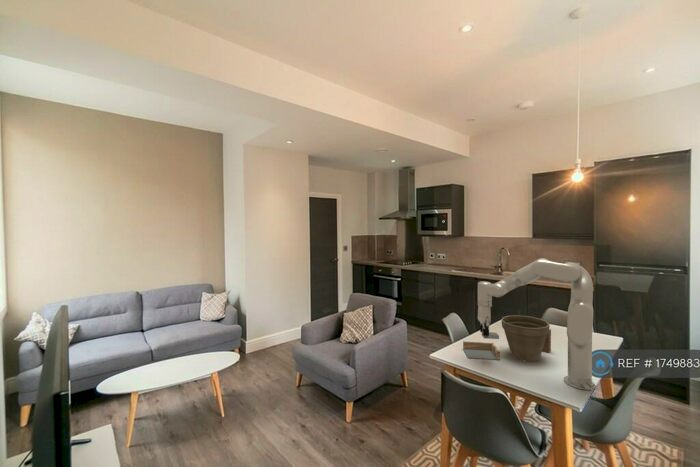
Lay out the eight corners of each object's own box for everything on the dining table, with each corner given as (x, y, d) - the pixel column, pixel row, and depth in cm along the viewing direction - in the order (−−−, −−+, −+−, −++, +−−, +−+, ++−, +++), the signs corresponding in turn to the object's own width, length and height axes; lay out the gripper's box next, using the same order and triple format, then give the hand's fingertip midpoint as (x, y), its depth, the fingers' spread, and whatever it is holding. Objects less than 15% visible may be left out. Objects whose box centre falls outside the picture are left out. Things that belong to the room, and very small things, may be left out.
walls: (500, 360, 177) (500, 351, 177) (467, 358, 180) (467, 350, 180) (493, 350, 191) (493, 342, 191) (463, 349, 194) (463, 341, 194)
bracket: (484, 338, 175) (484, 324, 175) (481, 335, 180) (481, 321, 180) (498, 339, 174) (499, 325, 173) (496, 336, 179) (496, 322, 178)
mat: (500, 360, 177) (500, 359, 177) (467, 358, 180) (467, 357, 180) (493, 350, 191) (493, 349, 191) (463, 349, 194) (463, 348, 194)
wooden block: (548, 353, 187) (548, 324, 186) (530, 347, 195) (530, 319, 195) (551, 351, 189) (551, 323, 188) (532, 346, 198) (532, 318, 197)
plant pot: (510, 364, 171) (510, 326, 171) (495, 347, 196) (495, 314, 195) (558, 367, 168) (558, 328, 167) (537, 349, 192) (537, 315, 192)
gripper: (474, 299, 186) (474, 328, 186) (481, 306, 169) (481, 338, 169) (487, 299, 185) (487, 329, 185) (496, 307, 168) (496, 339, 168)
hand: (484, 333), depth 177 cm, fingers closed on bracket, 5 cm apart
